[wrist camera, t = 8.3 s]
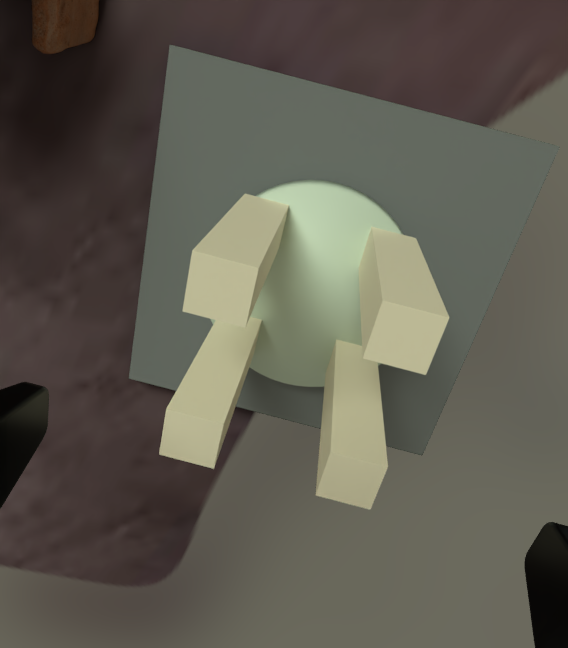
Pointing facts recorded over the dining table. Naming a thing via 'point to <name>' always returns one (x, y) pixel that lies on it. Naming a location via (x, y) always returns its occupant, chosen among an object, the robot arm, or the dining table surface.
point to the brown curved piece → (63, 23)
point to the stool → (306, 323)
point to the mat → (340, 167)
